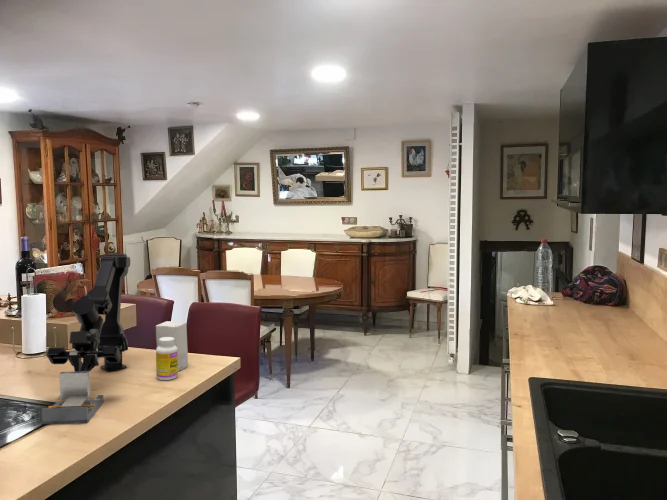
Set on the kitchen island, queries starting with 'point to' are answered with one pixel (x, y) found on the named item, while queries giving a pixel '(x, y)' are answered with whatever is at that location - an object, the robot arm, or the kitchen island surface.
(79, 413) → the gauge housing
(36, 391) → the kitchen island surface
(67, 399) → the block
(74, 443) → the kitchen island surface
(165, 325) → the skincare box
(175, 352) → the supplement bottle
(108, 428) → the kitchen island surface
